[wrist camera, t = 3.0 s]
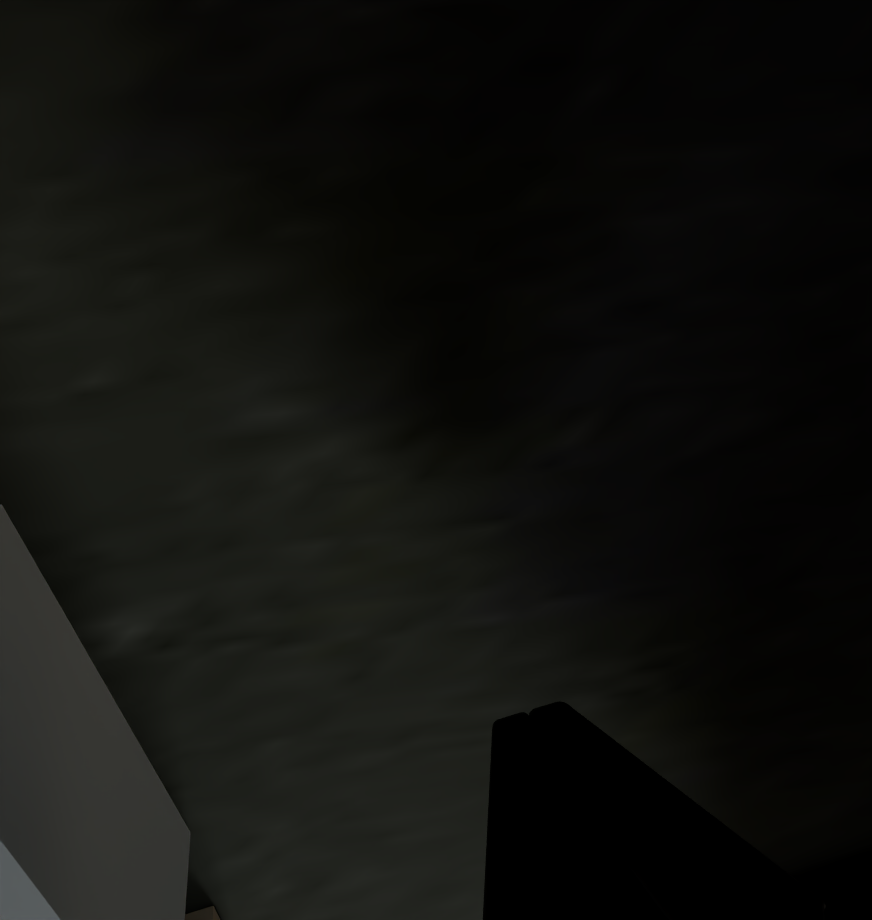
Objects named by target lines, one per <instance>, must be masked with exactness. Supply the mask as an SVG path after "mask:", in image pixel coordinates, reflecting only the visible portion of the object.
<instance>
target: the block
mask: <svg viewBox="0 0 872 920" xmlns="http://www.w3.org/2000/svg"><path fill="white" fill-rule="evenodd" d="M190 834H191V832H190V831H189V829H188V827H187V825H186V824H185V822H184V820H183V818H182V817H181V815H180V813H179V812H178V810H177V808H176V806H175V805H174V803H173V801H172V799H171V798H170V796H169V794H168V792H167V791H166V789H165V787H164V785H163V784H162V782H161V780H160V778H159V777H158V775H157V773H156V772H155V770H154V768H153V766H152V765H151V763H150V761H149V759H148V758H147V756H146V754H145V752H144V751H143V749H142V747H141V745H140V744H139V742H138V740H137V739H136V737H135V735H134V733H133V732H132V730H131V728H130V726H129V725H128V723H127V721H126V719H125V718H124V716H123V714H122V712H121V711H120V709H119V707H118V706H117V704H116V702H115V700H114V699H113V697H112V695H111V693H110V692H109V690H108V688H107V686H106V685H105V683H104V681H103V679H102V678H101V676H100V674H99V673H98V671H97V669H96V667H95V666H94V664H93V662H92V660H91V659H90V657H89V655H88V653H87V652H86V650H85V648H84V646H83V645H82V643H81V641H80V640H79V638H78V636H77V634H76V633H75V631H74V629H73V627H72V626H71V624H70V622H69V620H68V619H67V617H66V615H65V613H64V612H63V610H62V608H61V606H60V605H59V603H58V601H57V600H56V598H55V596H54V594H53V593H52V591H51V589H50V587H49V586H48V584H47V582H46V580H45V579H44V577H43V575H42V573H41V572H40V570H39V568H38V567H37V565H36V563H35V561H34V560H33V558H32V556H31V554H30V553H29V551H28V549H27V547H26V546H25V544H24V542H23V540H22V539H21V537H20V535H19V534H18V532H17V530H16V528H15V527H14V525H13V523H12V521H11V520H10V518H9V516H8V514H7V513H6V511H5V509H4V507H3V506H2V504H0V920H185V908H186V893H187V878H188V864H189V849H190Z"/></svg>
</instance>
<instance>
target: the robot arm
mask: <svg viewBox="0 0 872 920" xmlns="http://www.w3.org/2000/svg"><path fill="white" fill-rule="evenodd" d="M483 920H872V858H869V859H866V860H863V861H860V862H857V863H854V864H851V865H848V866H846V867H843V868H840V869H837V870H834V871H831V872H828V873H825V874H822V875H819V876H816V877H813V878H810V879H807V880H804V881H801V882H799V881H797V880H796V879H795V878H793V877H792V876H791V875H790V874H788V873H787V872H786V871H784V870H783V869H782V868H780V867H779V866H778V865H776V864H775V863H774V862H773V861H771V860H770V859H769V858H767V857H766V856H765V855H763V854H762V853H761V852H760V851H758V850H757V849H756V848H754V847H753V846H752V845H750V844H749V843H748V842H747V841H745V840H744V839H743V838H741V837H740V836H739V835H737V834H736V833H735V832H733V831H732V830H731V829H730V828H728V827H727V826H726V825H724V824H723V823H722V822H720V821H719V820H718V819H717V818H715V817H714V816H713V815H711V814H710V813H709V812H707V811H706V810H705V809H703V808H702V807H701V806H700V805H698V804H697V803H696V802H694V801H693V800H692V799H690V798H689V797H688V796H687V795H685V794H684V793H683V792H681V791H680V790H679V789H677V788H676V787H675V786H674V785H672V784H671V783H670V782H668V781H667V780H666V779H664V778H663V777H662V776H660V775H659V774H658V773H657V772H655V771H654V770H653V769H651V768H650V767H649V766H647V765H646V764H645V763H644V762H642V761H641V760H640V759H638V758H637V757H636V756H634V755H633V754H632V753H630V752H629V751H628V750H627V749H625V748H624V747H623V746H621V745H620V744H619V743H617V742H616V741H615V740H614V739H612V738H611V737H610V736H608V735H607V734H606V733H604V732H603V731H602V730H601V729H599V728H598V727H597V726H595V725H594V724H593V723H591V722H590V721H589V720H587V719H586V718H585V717H584V716H582V715H581V714H580V713H578V712H577V711H576V710H574V709H573V708H572V707H571V706H569V705H568V704H566V703H564V702H560V701H559V702H555V703H551V704H548V705H545V706H541V707H538V708H535V709H533V710H532V711H531V712H530V713H529V715H528V714H526V713H524V712H523V713H518V714H515V715H511V716H508V717H505V718H501V719H498V720H496V721H495V722H494V724H493V727H492V745H491V765H490V785H489V806H488V826H487V846H486V866H485V886H484V906H483Z"/></svg>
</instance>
